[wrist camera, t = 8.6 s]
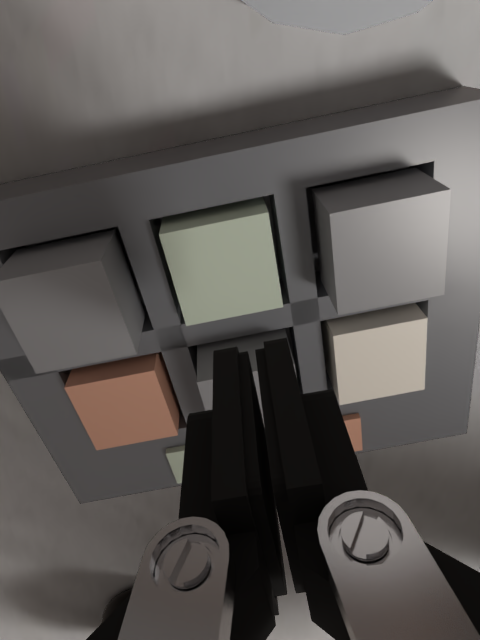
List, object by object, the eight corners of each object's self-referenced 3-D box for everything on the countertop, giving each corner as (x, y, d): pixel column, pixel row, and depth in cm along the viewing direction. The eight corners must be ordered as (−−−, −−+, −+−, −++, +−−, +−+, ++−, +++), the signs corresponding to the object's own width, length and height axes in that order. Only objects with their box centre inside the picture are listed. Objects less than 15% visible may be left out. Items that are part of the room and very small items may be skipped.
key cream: (401, 285, 18) (427, 318, 16) (401, 352, 20) (424, 389, 18) (318, 301, 18) (333, 336, 16) (325, 366, 20) (339, 405, 18)
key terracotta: (159, 332, 19) (154, 370, 17) (180, 394, 21) (177, 435, 18) (79, 348, 19) (64, 387, 17) (107, 408, 21) (96, 450, 19)
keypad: (463, 86, 15) (546, 101, 12) (442, 396, 23) (488, 465, 19) (-52, 195, 16) (-128, 242, 12) (91, 461, 23) (70, 539, 20)
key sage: (259, 188, 16) (268, 212, 14) (273, 274, 18) (283, 307, 16) (164, 208, 16) (158, 234, 14) (188, 291, 18) (186, 326, 16)
